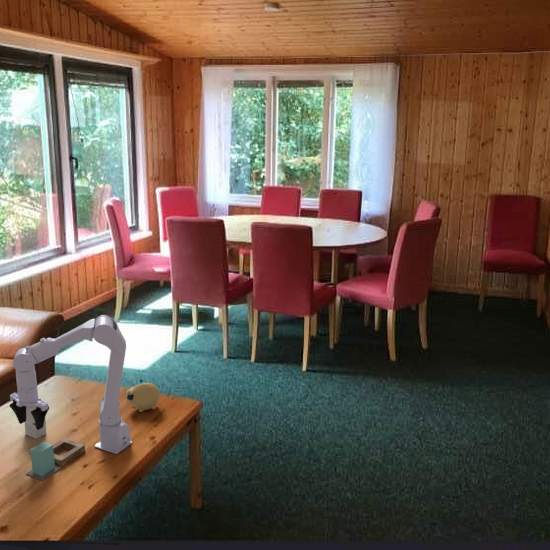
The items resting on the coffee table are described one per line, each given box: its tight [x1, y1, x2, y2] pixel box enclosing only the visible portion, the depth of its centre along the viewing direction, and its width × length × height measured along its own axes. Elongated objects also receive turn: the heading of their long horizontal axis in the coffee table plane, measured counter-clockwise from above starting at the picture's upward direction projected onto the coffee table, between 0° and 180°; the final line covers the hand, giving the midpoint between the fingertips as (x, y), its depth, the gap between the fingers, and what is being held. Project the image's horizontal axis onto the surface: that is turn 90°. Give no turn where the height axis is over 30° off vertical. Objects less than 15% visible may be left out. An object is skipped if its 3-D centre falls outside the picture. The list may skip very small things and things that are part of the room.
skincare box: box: [24, 406, 47, 440], centre depth 200 cm, size 6×4×12 cm
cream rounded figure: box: [125, 382, 161, 413], centre depth 218 cm, size 10×12×11 cm
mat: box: [25, 465, 61, 482], centre depth 181 cm, size 7×7×1 cm
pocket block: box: [52, 437, 86, 468], centre depth 189 cm, size 9×10×2 cm
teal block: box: [30, 441, 56, 476], centre depth 180 cm, size 4×5×8 cm
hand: (31, 425), depth 187 cm, fingers open, 7 cm apart
